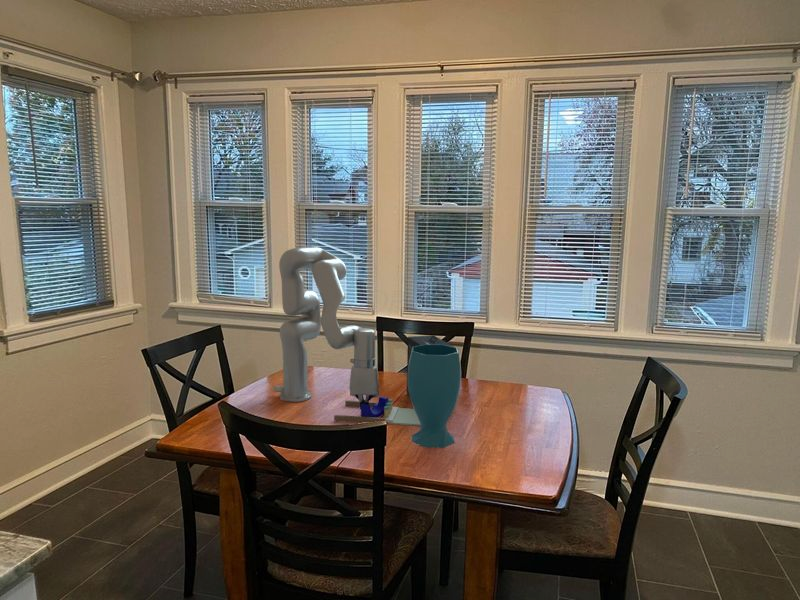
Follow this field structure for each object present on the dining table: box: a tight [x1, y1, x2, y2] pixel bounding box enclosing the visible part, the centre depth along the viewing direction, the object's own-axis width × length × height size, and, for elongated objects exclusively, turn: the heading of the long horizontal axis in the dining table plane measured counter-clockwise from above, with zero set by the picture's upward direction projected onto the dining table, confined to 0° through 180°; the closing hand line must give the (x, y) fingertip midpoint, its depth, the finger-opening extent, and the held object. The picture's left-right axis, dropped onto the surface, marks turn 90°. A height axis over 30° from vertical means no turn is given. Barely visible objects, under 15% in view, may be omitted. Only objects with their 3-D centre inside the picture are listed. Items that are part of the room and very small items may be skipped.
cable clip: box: [360, 395, 389, 418], centre depth 200 cm, size 12×4×6 cm, turn 144°
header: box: [333, 398, 421, 427], centre depth 201 cm, size 33×17×5 cm, turn 81°
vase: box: [408, 344, 462, 449], centre depth 179 cm, size 17×17×30 cm
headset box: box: [406, 334, 454, 395], centre depth 217 cm, size 22×12×26 cm, turn 19°
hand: (364, 411), depth 202 cm, fingers closed
